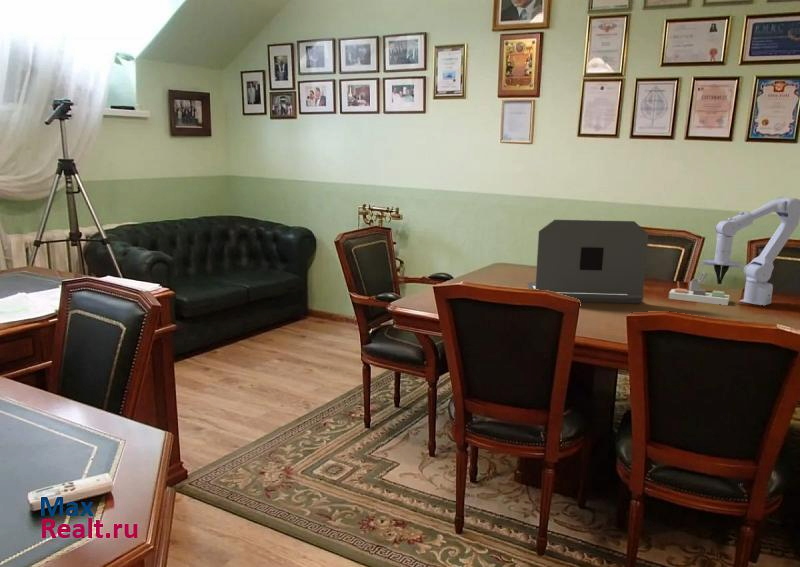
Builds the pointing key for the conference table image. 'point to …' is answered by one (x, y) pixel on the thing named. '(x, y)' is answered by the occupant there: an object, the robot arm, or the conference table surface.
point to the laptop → (592, 260)
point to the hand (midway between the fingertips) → (719, 283)
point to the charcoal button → (699, 292)
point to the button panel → (699, 297)
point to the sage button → (718, 294)
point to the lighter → (696, 282)
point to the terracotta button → (681, 290)
